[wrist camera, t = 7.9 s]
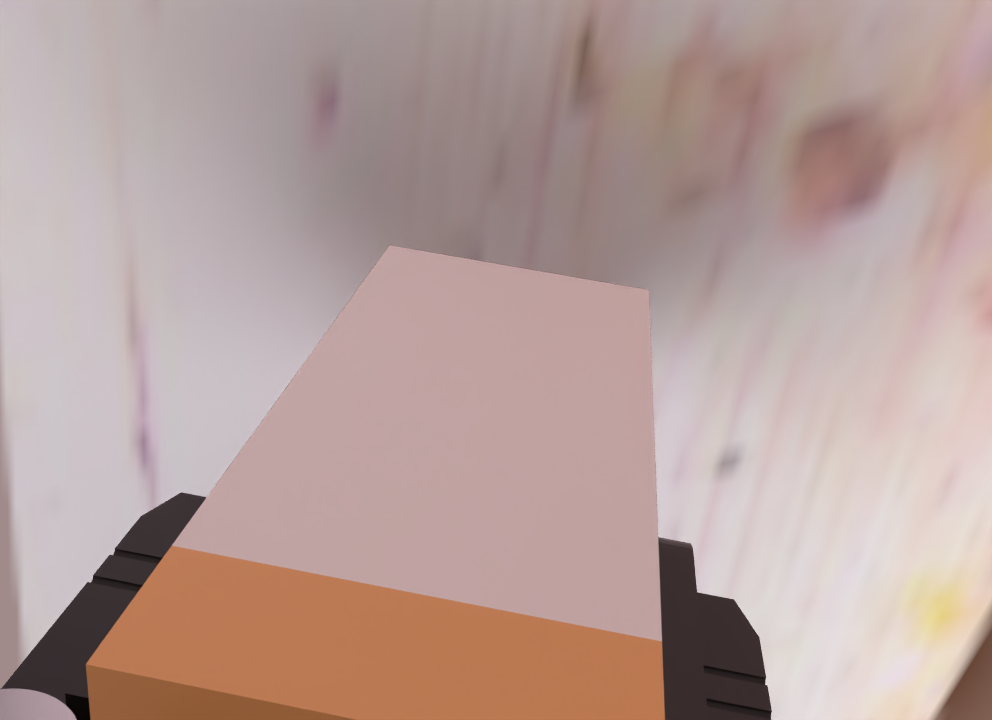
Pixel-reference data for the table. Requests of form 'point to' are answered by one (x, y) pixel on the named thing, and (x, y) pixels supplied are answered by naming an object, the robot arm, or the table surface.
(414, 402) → the orange-topped block
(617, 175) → the table surface
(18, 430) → the table surface
